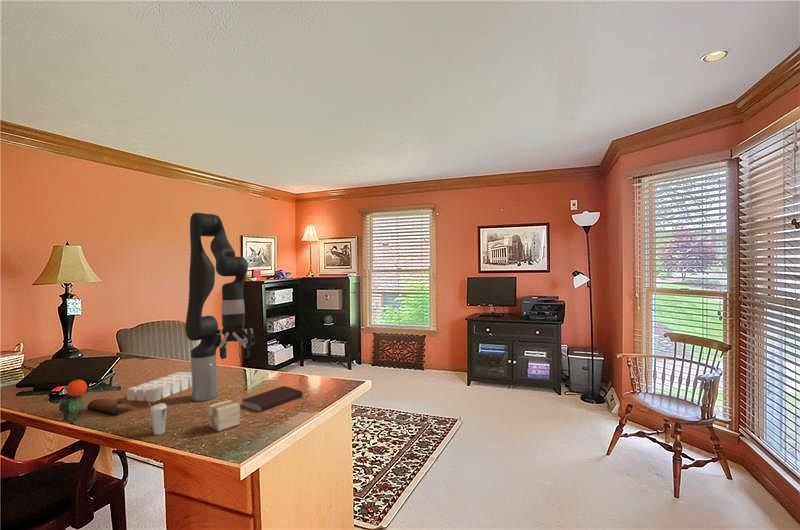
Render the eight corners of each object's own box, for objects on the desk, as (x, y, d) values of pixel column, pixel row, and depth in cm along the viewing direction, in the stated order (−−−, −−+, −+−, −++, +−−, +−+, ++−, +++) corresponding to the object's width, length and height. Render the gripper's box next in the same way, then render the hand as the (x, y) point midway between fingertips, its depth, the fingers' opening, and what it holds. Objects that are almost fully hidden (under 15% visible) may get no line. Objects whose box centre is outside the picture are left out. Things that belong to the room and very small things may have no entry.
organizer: (127, 389, 158) (192, 367, 192) (127, 400, 158) (193, 377, 192) (153, 390, 154) (215, 368, 188) (153, 402, 154) (215, 378, 188)
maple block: (209, 426, 128) (209, 405, 128) (230, 420, 133) (229, 399, 133) (218, 432, 123) (218, 410, 123) (240, 425, 128) (239, 404, 128)
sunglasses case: (139, 408, 147) (129, 395, 144) (122, 423, 142) (112, 411, 138) (110, 402, 154) (101, 391, 151) (94, 417, 149) (83, 405, 146)
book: (302, 398, 155) (302, 390, 155) (261, 413, 140) (260, 404, 140) (283, 393, 163) (282, 385, 163) (241, 407, 147) (241, 398, 147)
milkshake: (153, 430, 126) (152, 399, 126) (170, 429, 126) (169, 398, 126) (145, 436, 121) (144, 404, 121) (163, 435, 122) (162, 403, 122)
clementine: (66, 395, 165) (66, 379, 165) (87, 392, 170) (87, 376, 170) (65, 400, 159) (65, 383, 159) (87, 396, 163) (86, 379, 163)
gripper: (257, 310, 139) (258, 356, 139) (221, 312, 142) (222, 356, 141) (246, 312, 132) (247, 360, 131) (208, 314, 134) (209, 361, 134)
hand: (234, 358), depth 136 cm, fingers open, 8 cm apart
